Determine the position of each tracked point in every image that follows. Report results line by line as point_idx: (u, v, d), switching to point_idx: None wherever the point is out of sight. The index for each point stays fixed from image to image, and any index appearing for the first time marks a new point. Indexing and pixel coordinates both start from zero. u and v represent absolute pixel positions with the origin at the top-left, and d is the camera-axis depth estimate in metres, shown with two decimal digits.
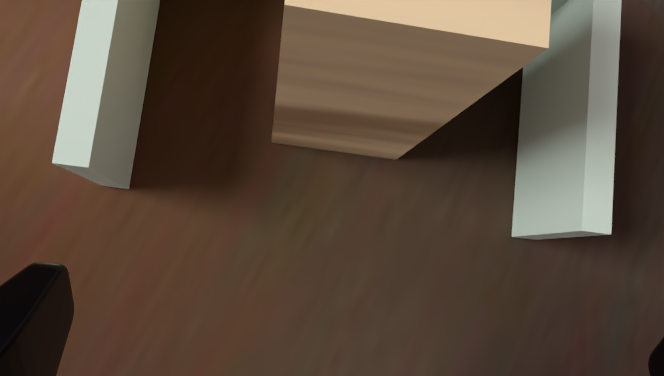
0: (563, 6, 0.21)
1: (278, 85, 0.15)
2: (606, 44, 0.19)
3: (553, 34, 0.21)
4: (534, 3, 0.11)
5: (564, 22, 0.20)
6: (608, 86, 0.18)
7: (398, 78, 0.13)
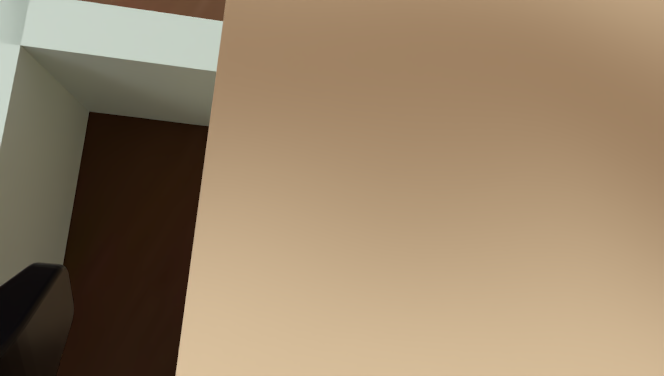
0: None
1: None
2: None
3: None
4: None
5: None
6: None
7: None
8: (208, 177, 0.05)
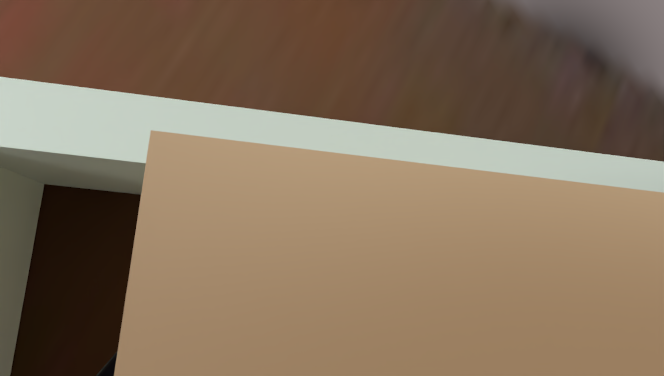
0: None
1: None
2: None
3: None
4: None
5: None
6: None
7: None
8: None
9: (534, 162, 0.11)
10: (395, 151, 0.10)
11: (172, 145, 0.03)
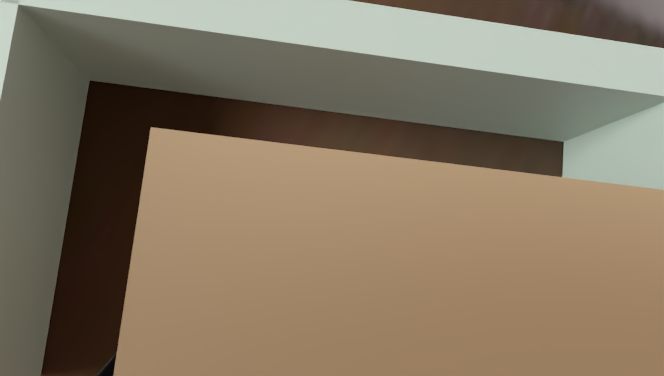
0: (623, 120, 0.15)
1: None
2: None
3: (608, 154, 0.16)
4: None
5: (625, 144, 0.15)
6: None
7: None
8: None
9: (499, 37, 0.13)
10: (386, 25, 0.13)
11: (171, 143, 0.03)
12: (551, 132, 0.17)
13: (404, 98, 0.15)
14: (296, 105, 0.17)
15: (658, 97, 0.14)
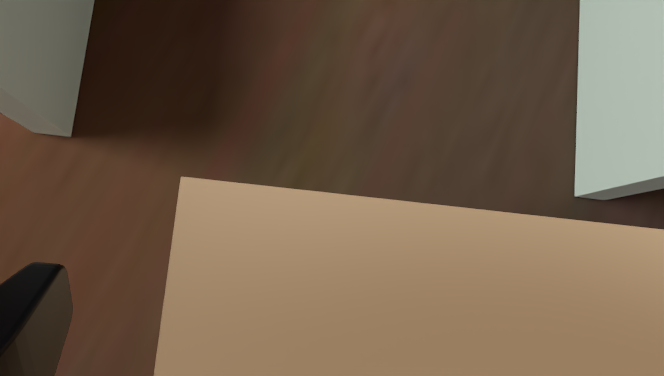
0: None
1: None
2: None
3: None
4: None
5: None
6: None
7: None
8: None
9: None
10: None
11: (196, 187, 0.04)
12: None
13: None
14: None
15: None
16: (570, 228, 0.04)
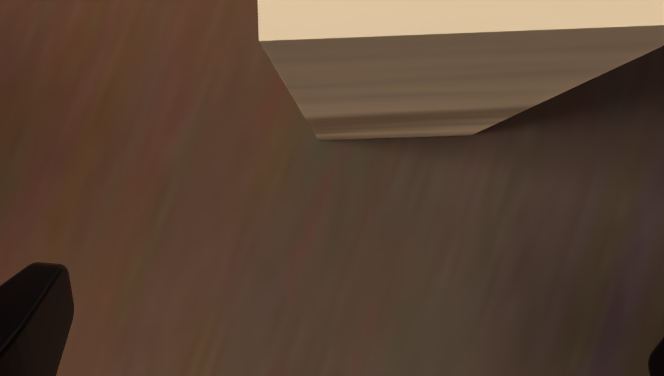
0: None
1: (299, 105, 0.11)
2: None
3: None
4: None
5: None
6: None
7: (459, 81, 0.09)
8: None
9: None
10: None
11: None
12: None
13: None
14: None
15: None
16: None
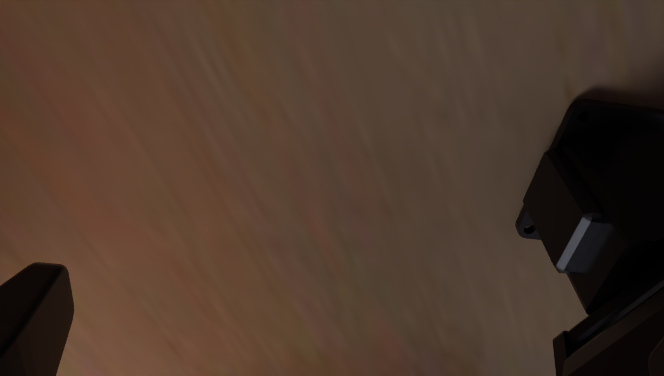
0: None
1: None
2: None
3: None
4: None
5: None
6: None
7: None
8: None
9: None
10: None
11: None
12: None
13: None
14: None
15: None
16: None
